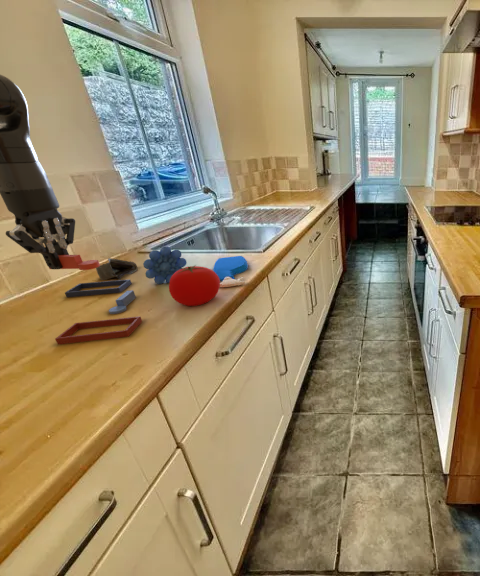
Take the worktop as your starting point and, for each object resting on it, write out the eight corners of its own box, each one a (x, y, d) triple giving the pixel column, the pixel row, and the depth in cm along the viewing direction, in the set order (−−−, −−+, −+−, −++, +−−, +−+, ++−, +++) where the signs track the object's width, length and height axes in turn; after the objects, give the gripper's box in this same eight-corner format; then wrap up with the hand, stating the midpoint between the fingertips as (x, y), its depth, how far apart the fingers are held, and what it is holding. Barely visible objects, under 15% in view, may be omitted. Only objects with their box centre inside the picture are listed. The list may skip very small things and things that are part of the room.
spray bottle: (213, 258, 115) (209, 283, 94) (246, 254, 118) (248, 278, 98) (215, 266, 116) (211, 292, 95) (247, 262, 120) (250, 286, 99)
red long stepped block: (104, 264, 73) (99, 252, 72) (91, 270, 70) (86, 257, 69) (60, 265, 73) (54, 253, 72) (45, 270, 70) (39, 258, 68)
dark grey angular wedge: (118, 270, 113) (86, 255, 102) (138, 263, 114) (107, 248, 102) (119, 294, 110) (86, 281, 99) (139, 287, 110) (108, 274, 99)
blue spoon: (123, 314, 82) (119, 305, 81) (107, 316, 81) (103, 306, 80) (140, 298, 91) (137, 289, 90) (126, 299, 90) (123, 291, 89)
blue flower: (192, 275, 107) (183, 241, 102) (191, 283, 101) (181, 246, 97) (151, 281, 103) (140, 245, 98) (147, 289, 97) (135, 251, 92)
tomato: (178, 297, 92) (168, 263, 87) (224, 291, 96) (217, 257, 91) (170, 314, 82) (158, 277, 78) (221, 307, 86) (213, 270, 82)
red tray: (58, 346, 69) (54, 338, 68) (78, 330, 75) (75, 322, 75) (129, 338, 72) (126, 330, 71) (143, 323, 78) (140, 316, 77)
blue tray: (67, 299, 91) (64, 292, 90) (82, 289, 97) (79, 283, 97) (121, 294, 94) (118, 288, 93) (132, 285, 100) (130, 279, 99)
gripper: (39, 183, 70) (71, 257, 77) (-34, 191, 58) (12, 279, 65) (73, 183, 71) (102, 257, 78) (8, 190, 58) (50, 278, 65)
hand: (61, 266), depth 71 cm, fingers closed on red long stepped block, 1 cm apart
